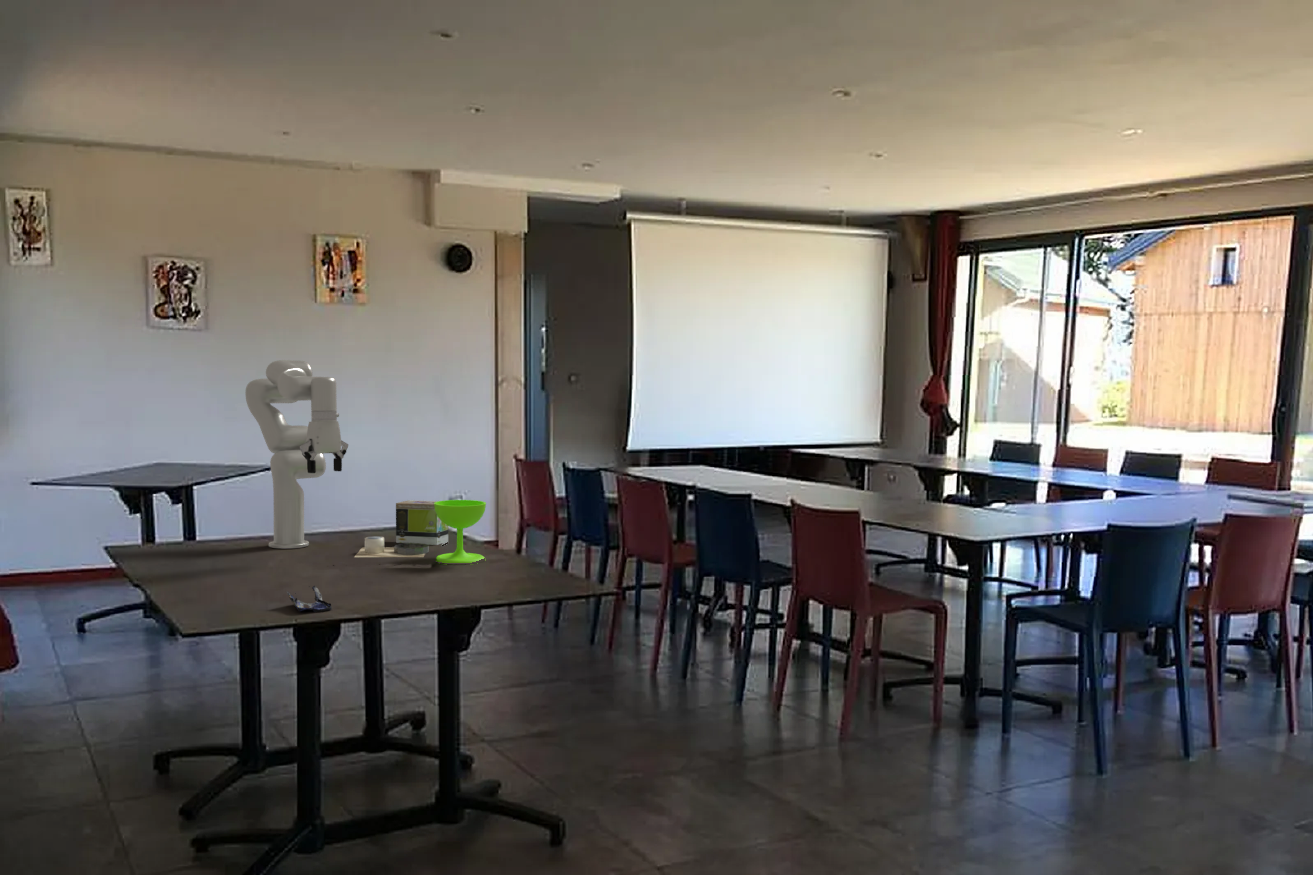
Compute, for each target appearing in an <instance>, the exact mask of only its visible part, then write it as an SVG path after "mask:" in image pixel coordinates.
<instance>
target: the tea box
mask: <svg viewBox="0 0 1313 875" xmlns="http://www.w3.org/2000/svg"><path fill="white" fill-rule="evenodd" d="M438 501H439V500H438ZM438 501H437V500H415V499H414V500H413V499H411V500H408V499H407V500H404V501H403V500H402V501H400V502H396V503H395V543H397V544H405V543H421V544H427V545H429V546H438V545H440V544H441V546H442V545H443V544H445V543H447V542H448V543H449V526H447V525H446V524H444V523H443V522H442V521H441V520H440V519H439V517H438V516H437V514H436V511H435V507H434V503H435V502H438Z"/></svg>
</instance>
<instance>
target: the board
mask: <svg viewBox="0 0 1313 875" xmlns="http://www.w3.org/2000/svg"><path fill="white" fill-rule="evenodd" d="M425 555H426V553H425V554H419V555H401V554H396V553H394V546H392V547H387V546H386V547H385V546H384V553H379V554H368V553H365V546H364V547H361V548H360V549H359V551H358V552H357V553H356V554H355V555H354V558H424V557H425Z"/></svg>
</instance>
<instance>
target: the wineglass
mask: <svg viewBox="0 0 1313 875" xmlns="http://www.w3.org/2000/svg"><path fill="white" fill-rule="evenodd" d="M486 505H487V502H485V501H482V500H475V499H474V500H473V499H447V500H438V502H435V503H434V507H435V511H436V514H437V516H438V517H439V519H440V520H441V521H442V522H443V523H444V524H446V525H447V526H448V528H449V527H450V528H453V529H456V549H455V551H454V552H449V553H448V552H447V553H443V554H439V555H437V556H436V558H435V560H434V562H435V561H437V562H442V563H472V562H476V561H479V560H481V559H484V558H485V556H483V555H482V554H479V553H475V552H474V553H472V552H466V550H464V529H467V528H470V527H472V526H474V525H475V524H477V523H478V522H479V521H480V520H481V518H482V517H483V516H484V513H485V511H486V507H487V506H486Z"/></svg>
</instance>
